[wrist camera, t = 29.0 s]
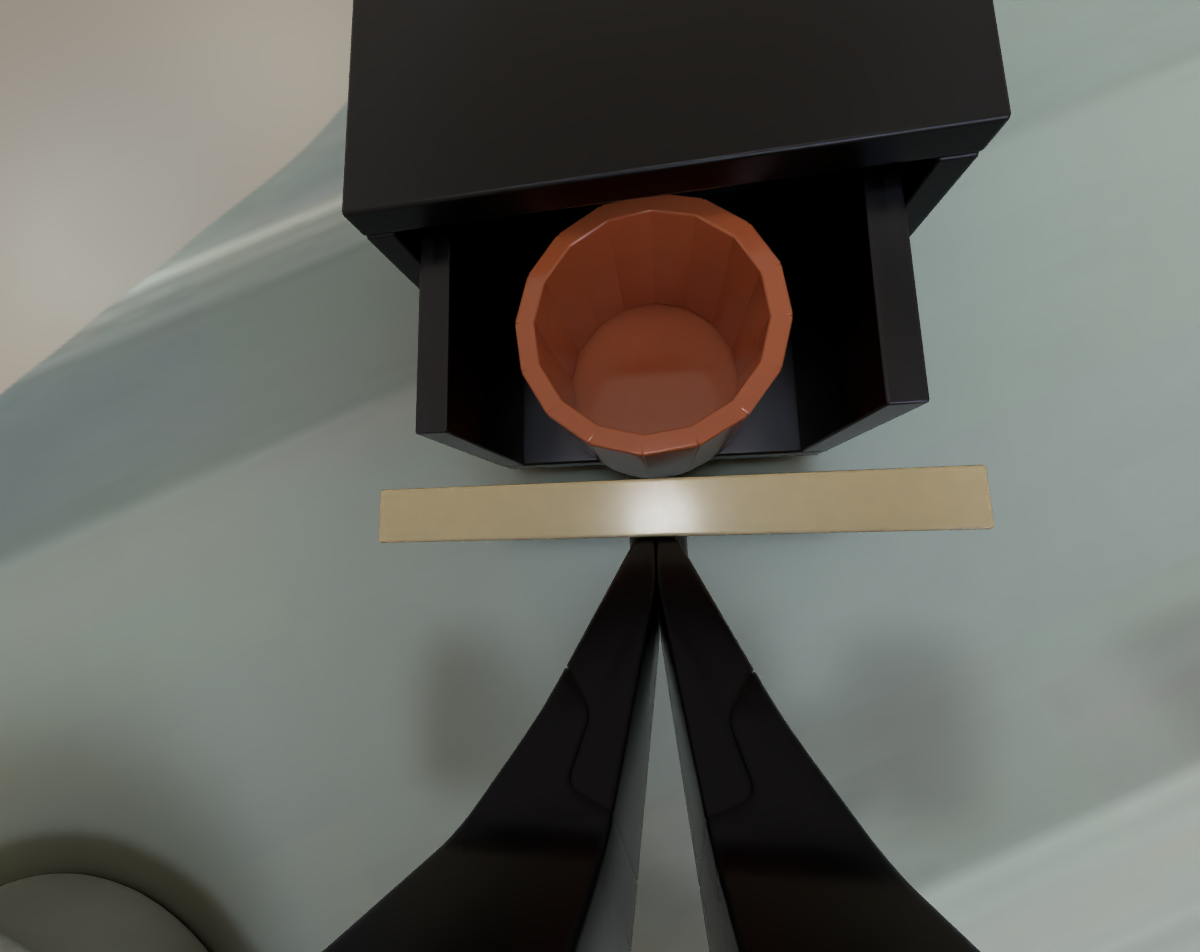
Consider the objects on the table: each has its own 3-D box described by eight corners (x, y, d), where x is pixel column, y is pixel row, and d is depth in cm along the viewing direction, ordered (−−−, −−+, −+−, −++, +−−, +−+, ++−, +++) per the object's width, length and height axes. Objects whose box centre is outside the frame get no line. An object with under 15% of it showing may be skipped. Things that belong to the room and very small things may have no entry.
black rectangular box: (832, 330, 16) (1013, 115, 8) (491, 359, 18) (339, 214, 10) (800, 0, 18) (920, -465, 10) (492, 60, 20) (366, -282, 12)
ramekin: (786, 412, 14) (851, 351, 9) (622, 513, 15) (601, 506, 10) (681, 267, 15) (689, 143, 10) (531, 364, 16) (471, 290, 11)
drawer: (846, 564, 14) (1005, 596, 8) (495, 568, 16) (375, 597, 9) (809, 168, 16) (911, -85, 9) (496, 212, 18) (397, 25, 11)
